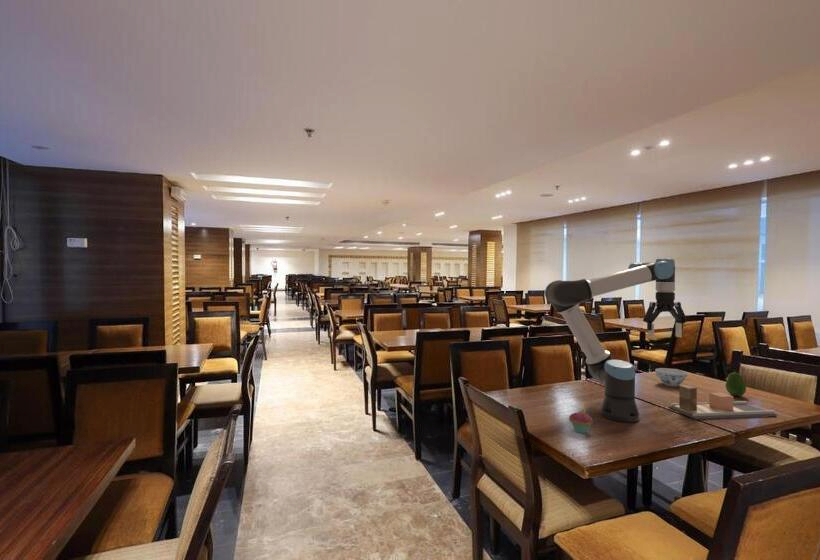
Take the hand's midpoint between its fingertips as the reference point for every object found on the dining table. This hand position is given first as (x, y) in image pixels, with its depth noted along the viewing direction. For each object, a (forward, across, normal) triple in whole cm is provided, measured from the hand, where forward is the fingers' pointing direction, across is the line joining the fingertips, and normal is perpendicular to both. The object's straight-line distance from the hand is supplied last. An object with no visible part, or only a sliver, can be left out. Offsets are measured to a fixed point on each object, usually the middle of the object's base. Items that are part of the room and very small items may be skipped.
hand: (664, 337), depth 181 cm
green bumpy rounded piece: (+33, -49, -13) cm, 61 cm away
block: (+31, -21, +8) cm, 38 cm away
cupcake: (+33, +54, +23) cm, 67 cm away
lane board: (+33, -21, +8) cm, 39 cm away
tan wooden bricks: (+32, -15, +8) cm, 36 cm away
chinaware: (+33, -32, -36) cm, 58 cm away
